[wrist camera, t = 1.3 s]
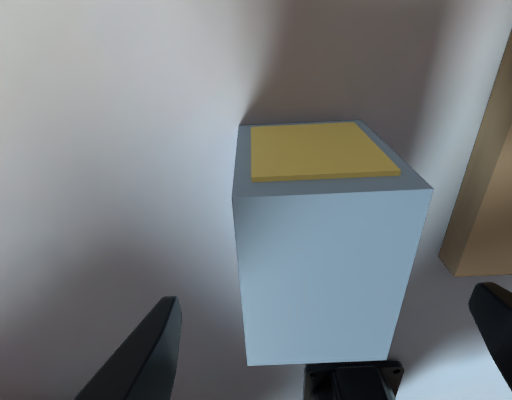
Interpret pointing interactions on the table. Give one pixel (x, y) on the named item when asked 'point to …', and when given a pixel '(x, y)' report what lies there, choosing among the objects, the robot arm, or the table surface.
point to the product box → (323, 240)
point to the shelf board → (486, 191)
